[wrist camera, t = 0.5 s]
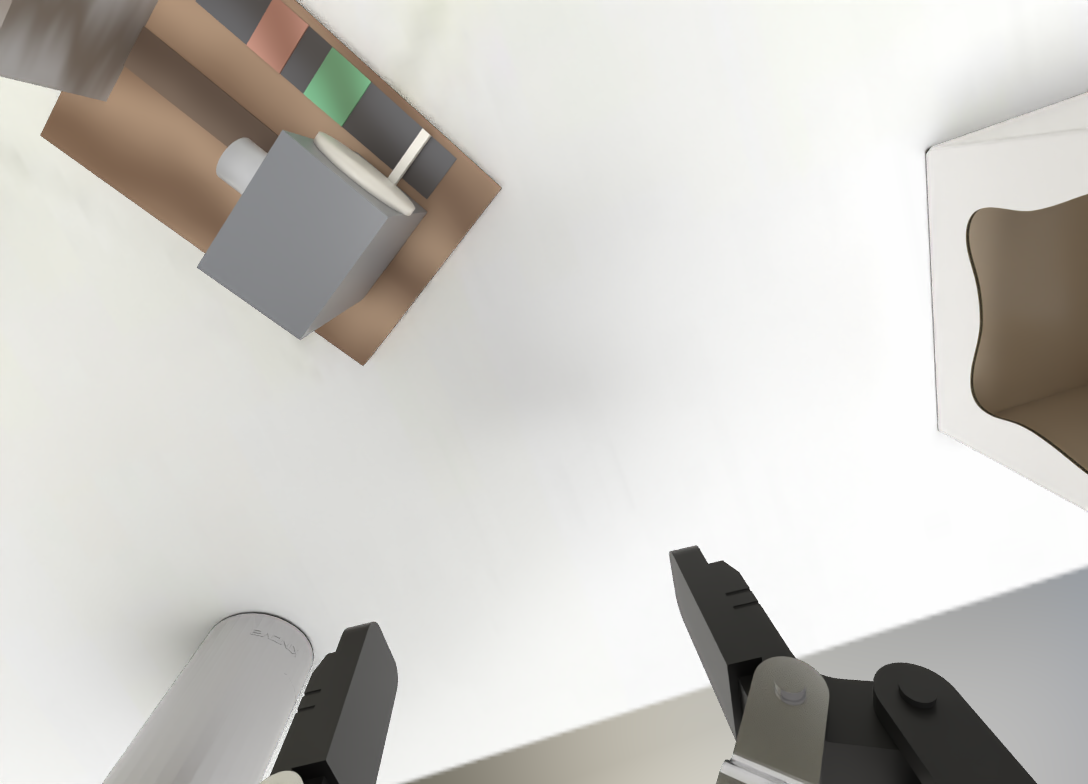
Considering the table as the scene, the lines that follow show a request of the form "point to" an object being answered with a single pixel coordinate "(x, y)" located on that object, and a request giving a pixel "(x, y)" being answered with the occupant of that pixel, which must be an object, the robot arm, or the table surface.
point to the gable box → (1015, 293)
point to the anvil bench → (234, 120)
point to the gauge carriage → (308, 227)
